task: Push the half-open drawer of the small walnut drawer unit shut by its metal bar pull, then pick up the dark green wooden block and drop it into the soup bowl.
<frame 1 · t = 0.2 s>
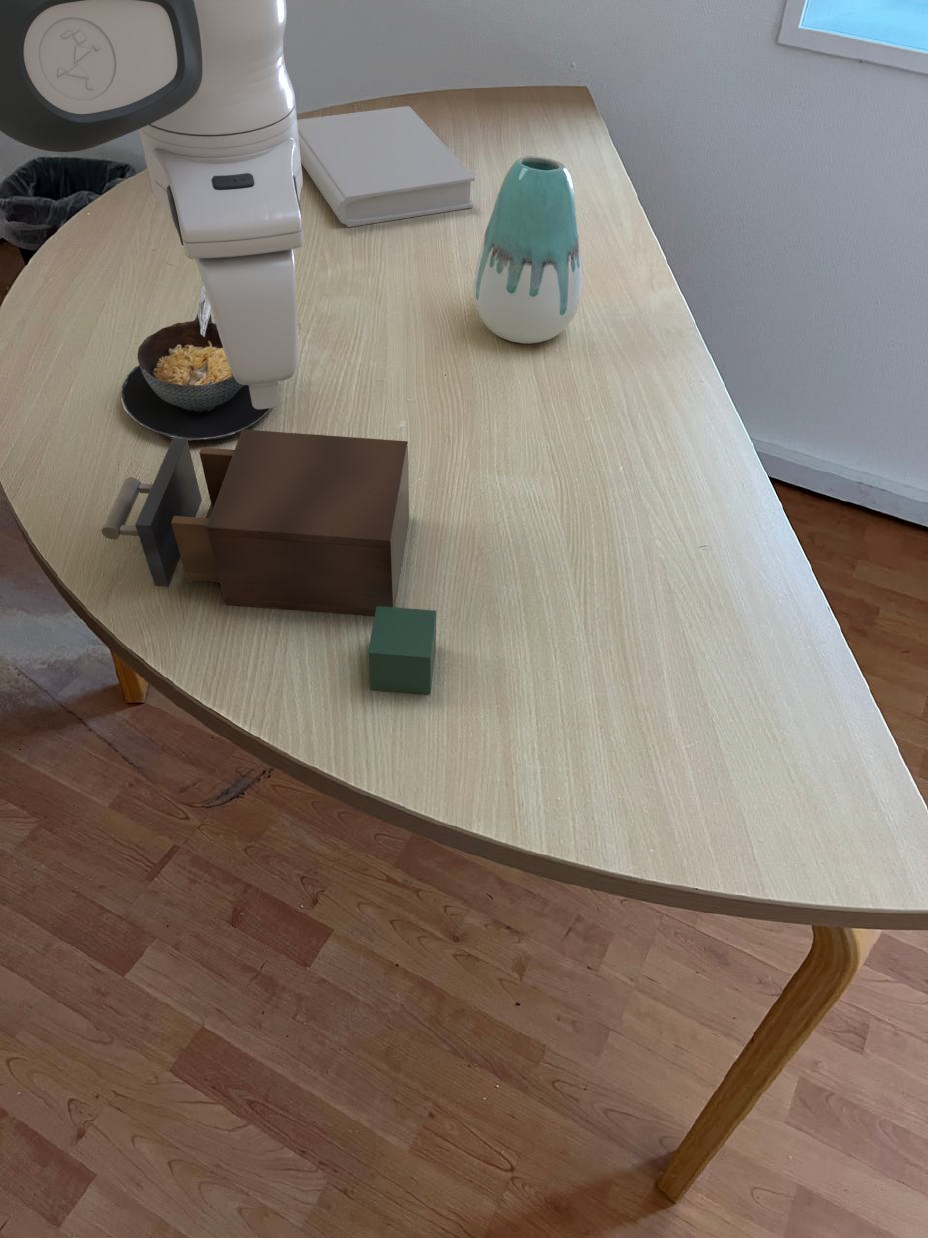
hand: (255, 362, 64), 19 cm above the table, tool pointing down, fingers open, 8 cm apart
soup bowl: (206, 398, 92), on the table
drawer: (215, 514, 75), point 4 cm above the table, slide at 4.5 cm
cabinet: (321, 559, 78), on the table
vase: (523, 328, 102), on the table
book: (376, 179, 125), on the table
block: (403, 668, 71), on the table
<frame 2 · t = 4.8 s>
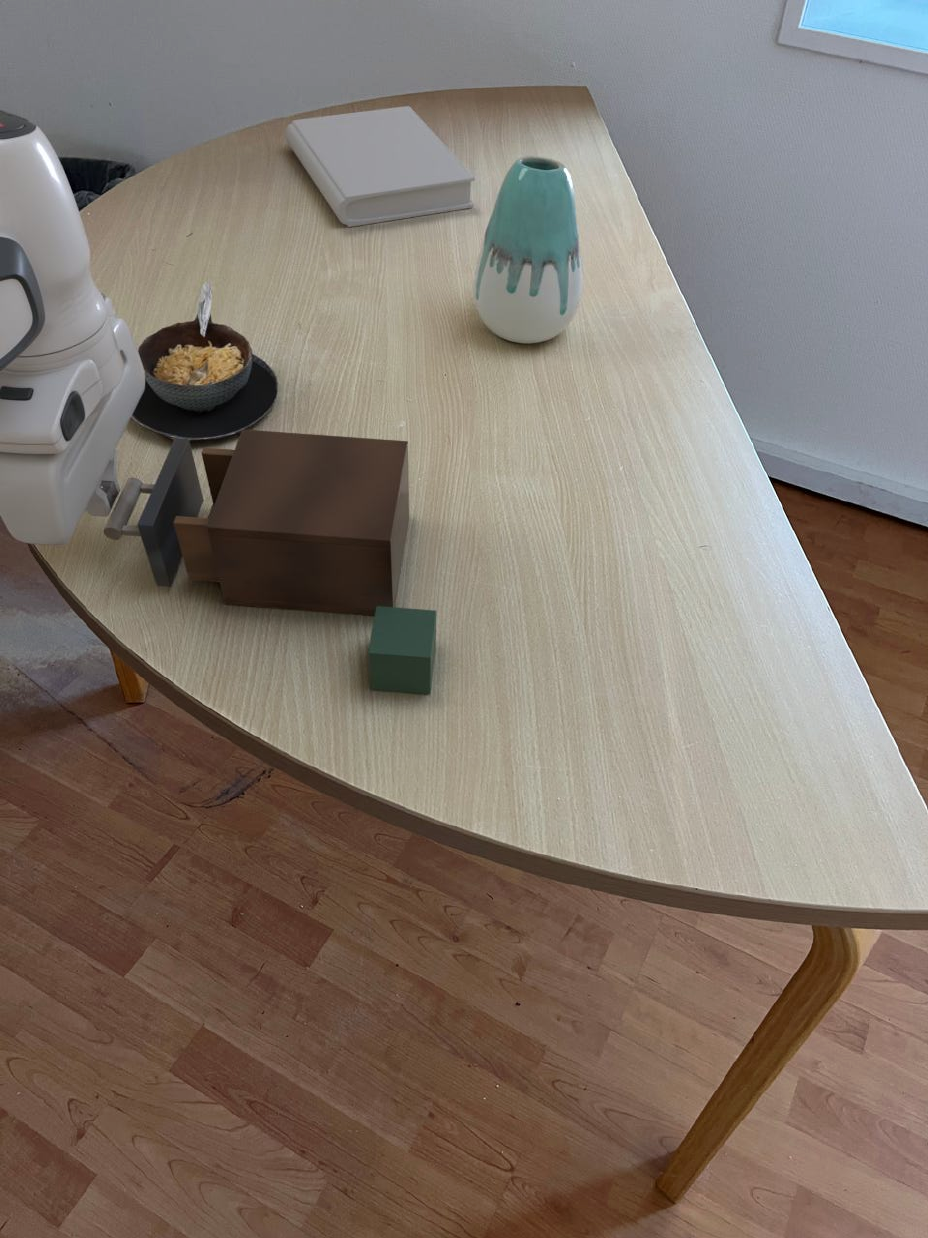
hand: (105, 504, 75), 4 cm above the table, tool pointing down, fingers closed, pressing on drawer
drawer: (217, 514, 75), point 4 cm above the table, slide at 4.3 cm, touching gripper
everything else where it was.
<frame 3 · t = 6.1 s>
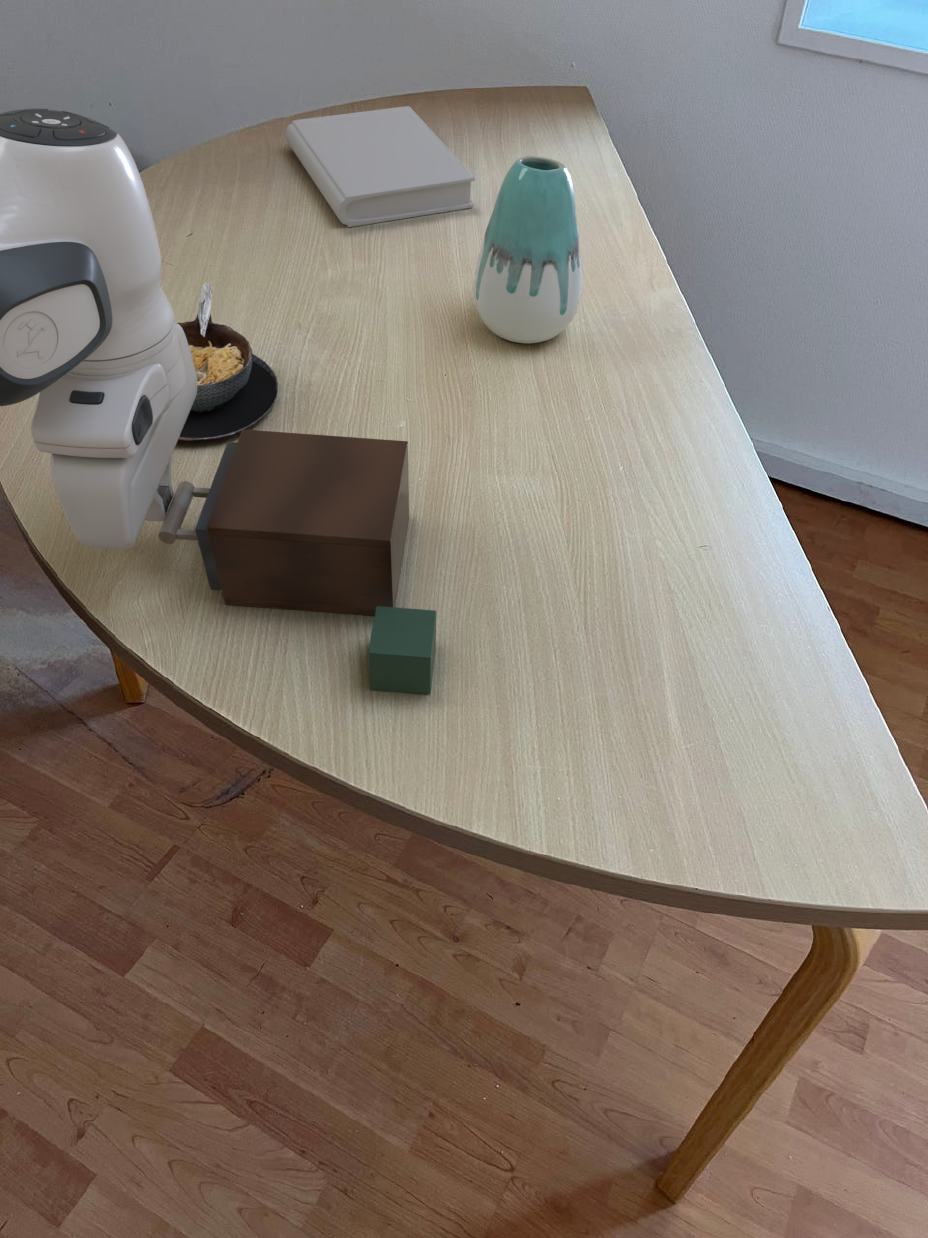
hand: (159, 509, 75), 4 cm above the table, tool pointing down, fingers closed, pressing on drawer
drawer: (270, 518, 75), point 4 cm above the table, slide at 0.0 cm, touching cabinet, gripper
everything else where it was.
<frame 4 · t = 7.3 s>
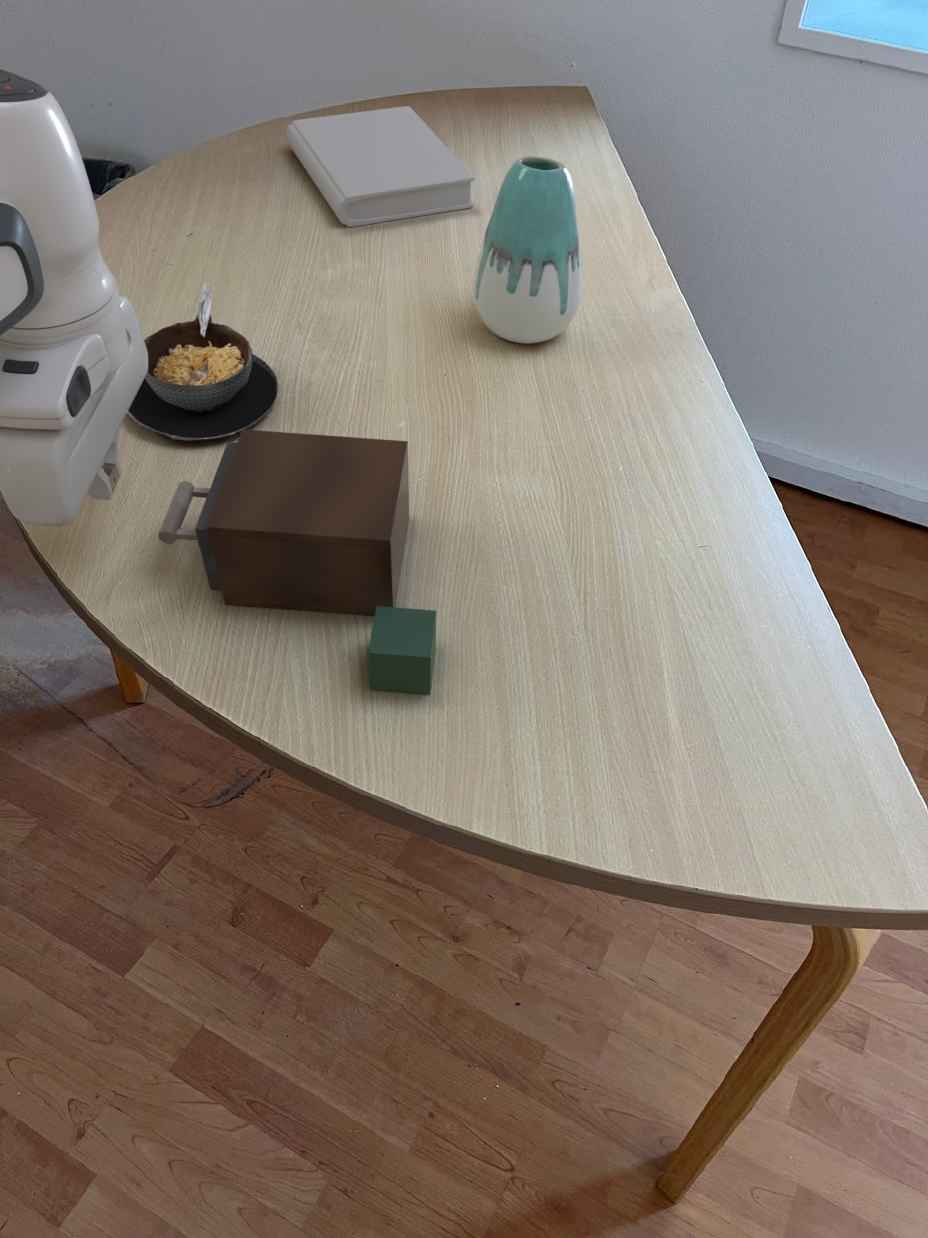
hand: (106, 487, 73), 7 cm above the table, tool pointing down, fingers closed
drawer: (270, 518, 75), point 4 cm above the table, slide at 0.0 cm, touching cabinet
everything else where it was.
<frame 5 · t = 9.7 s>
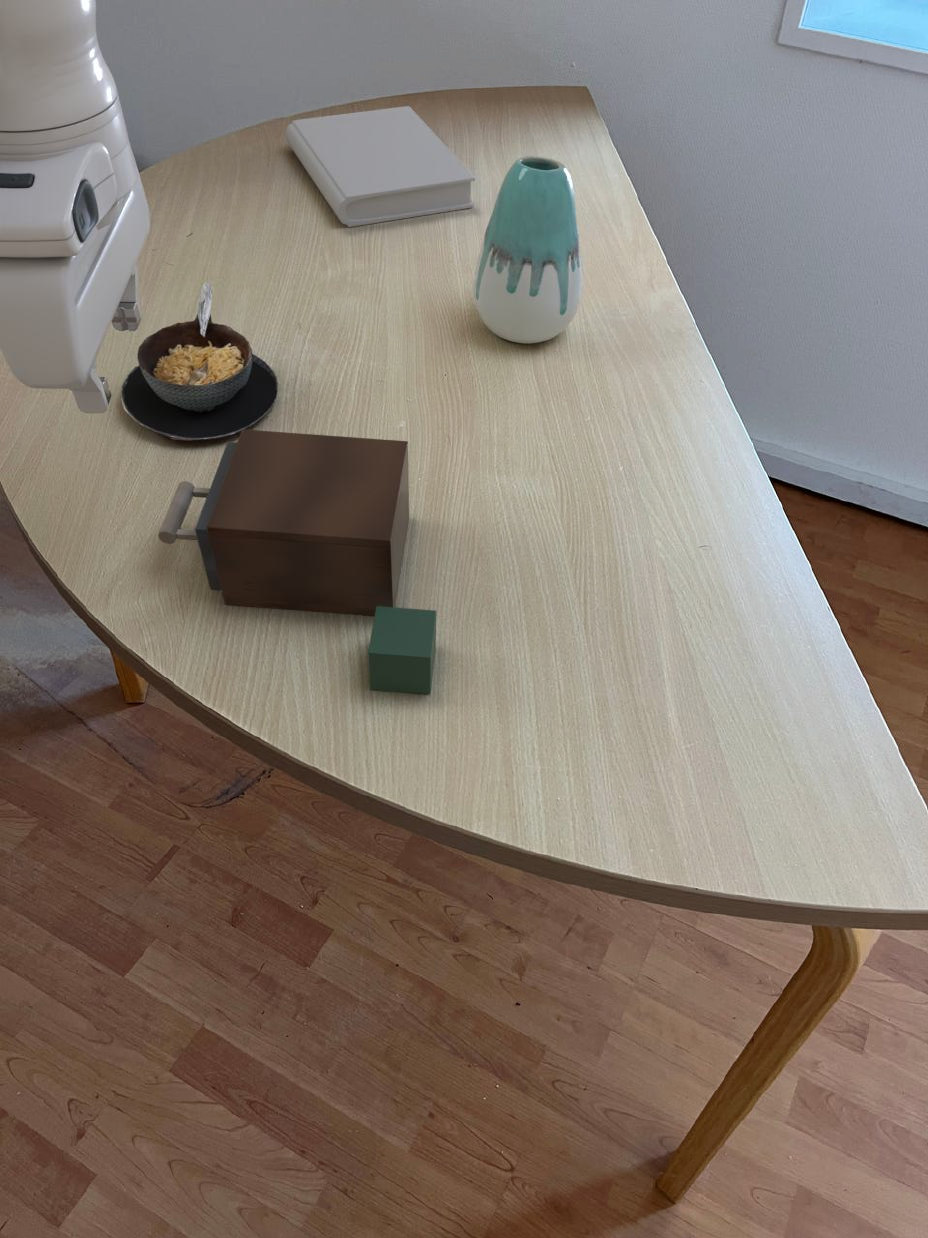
hand: (113, 364, 63), 19 cm above the table, tool pointing down, fingers open, 8 cm apart
nothing on the table moved.
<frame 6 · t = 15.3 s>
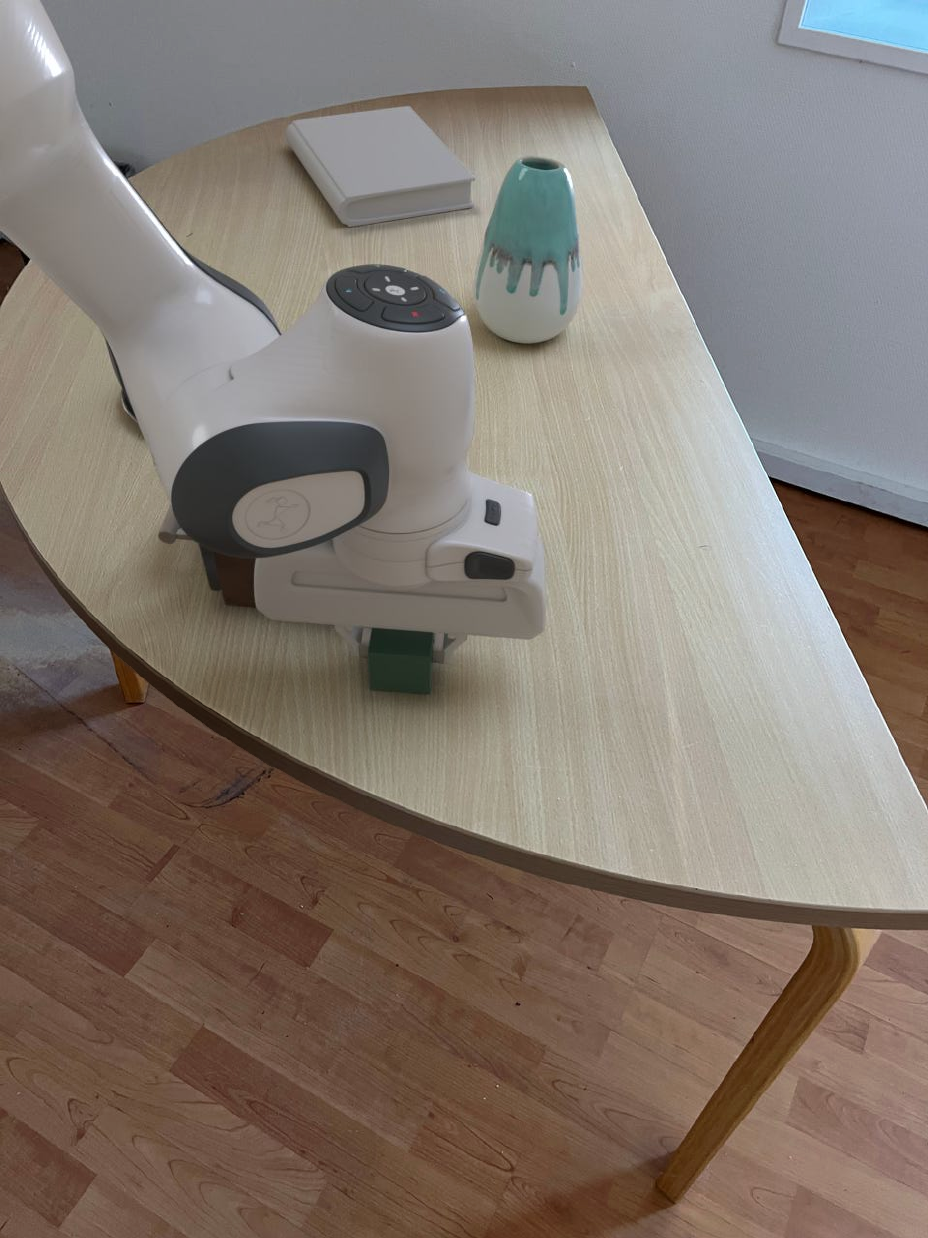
hand: (403, 654, 69), 2 cm above the table, tool pointing down, fingers closed on block, 4 cm apart
block: (403, 668, 71), on the table, touching gripper
everything else where it was.
when the fingers open (8 cm above the table, at t = 23.4 s): block stays where it is, resting on soup bowl.
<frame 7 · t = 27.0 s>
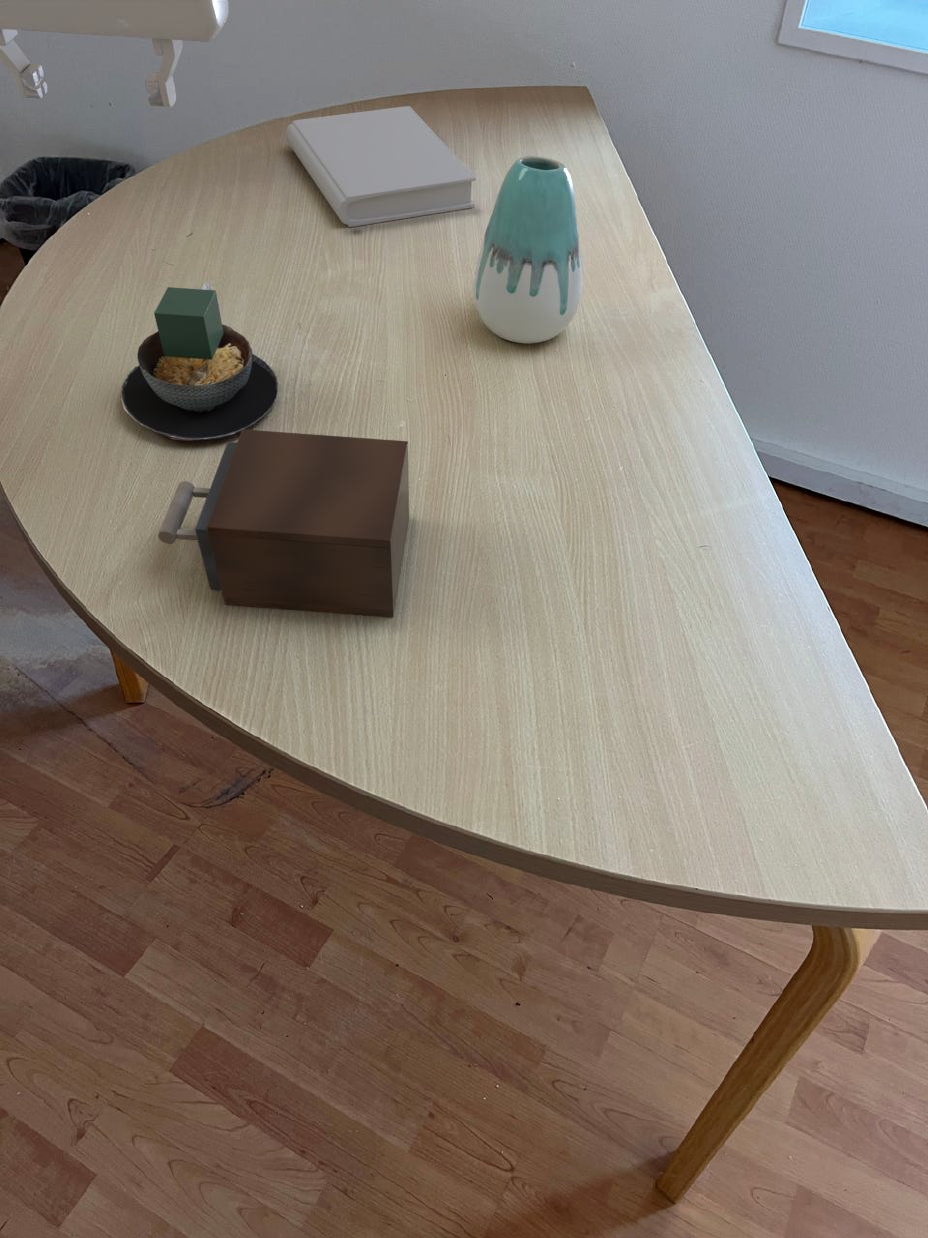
hand: (99, 99, 67), 29 cm above the table, tool pointing down, fingers open, 8 cm apart
soup bowl: (206, 398, 92), on the table, touching block
block: (194, 344, 87), point 6 cm above the table, touching soup bowl
everything else where it was.
at the end: drawer slide at 0.0 cm; block inside the target area in the soup bowl (0.1 cm from its centre), point 6.1 cm above the soup bowl's base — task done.
